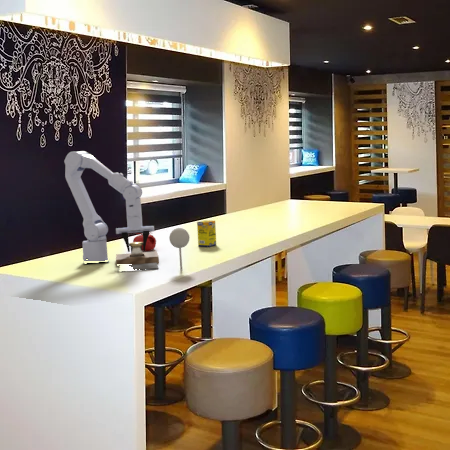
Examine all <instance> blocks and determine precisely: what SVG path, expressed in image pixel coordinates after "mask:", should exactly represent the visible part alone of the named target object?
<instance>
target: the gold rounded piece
mask: <svg viewBox="0 0 450 450" xmlns="http://www.w3.org/2000/svg"><path fill="white" fill-rule="evenodd" d="M142 245H143V242H133V241H132V242H129V247H130V253H131V257H140V256H143V253H142V252H143V251H142Z"/></svg>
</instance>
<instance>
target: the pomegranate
mask: <svg viewBox="0 0 450 450" xmlns="http://www.w3.org/2000/svg"><path fill="white" fill-rule="evenodd" d="M134 233H135V235H136V236H134V238H133V239H132V243H133V242H143V233H142V232H134ZM152 234H153V232H152V231H149V236H148V239H147V242H146V247H145V251H143V245H142V252H152V251H154V249H155V248H156V246H157V245H156V244H157V240H156V237H155V236H154V235H152Z"/></svg>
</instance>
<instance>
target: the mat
mask: <svg viewBox="0 0 450 450" xmlns="http://www.w3.org/2000/svg"><path fill="white" fill-rule="evenodd" d="M129 266H131V267H133V269H134V270H135V269H137V270H139V269H140V270H142V271H146V270H145V269H155V270H159V267H158V263H145V264H132V265H129Z"/></svg>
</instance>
